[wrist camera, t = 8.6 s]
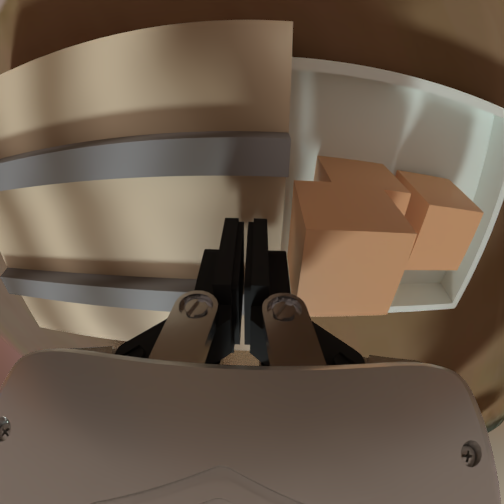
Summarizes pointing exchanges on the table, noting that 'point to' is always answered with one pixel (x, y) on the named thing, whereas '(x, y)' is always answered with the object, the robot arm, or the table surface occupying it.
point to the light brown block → (438, 221)
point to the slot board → (139, 167)
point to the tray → (399, 150)
